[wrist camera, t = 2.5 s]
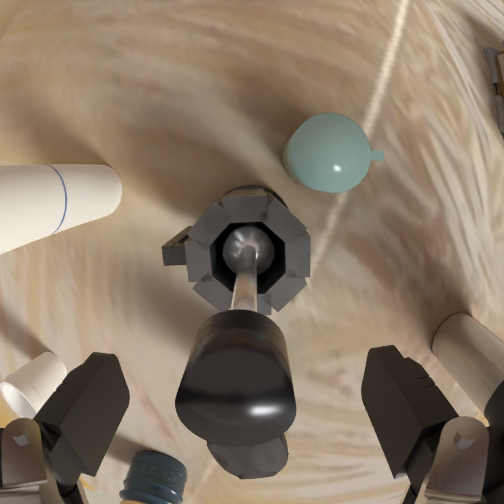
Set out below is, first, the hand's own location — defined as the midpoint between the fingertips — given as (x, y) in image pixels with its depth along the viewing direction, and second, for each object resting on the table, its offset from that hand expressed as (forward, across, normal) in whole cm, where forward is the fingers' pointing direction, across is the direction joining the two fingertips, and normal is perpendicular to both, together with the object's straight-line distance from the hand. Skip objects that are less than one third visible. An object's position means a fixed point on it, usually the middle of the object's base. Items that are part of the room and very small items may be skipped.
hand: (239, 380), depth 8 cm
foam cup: (+28, +39, +24) cm, 54 cm away
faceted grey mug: (+28, +1, 0) cm, 28 cm away
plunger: (+16, 0, 0) cm, 16 cm away
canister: (+28, +23, +52) cm, 63 cm away
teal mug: (+28, -9, -8) cm, 31 cm away
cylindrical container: (+28, +20, -6) cm, 35 cm away
